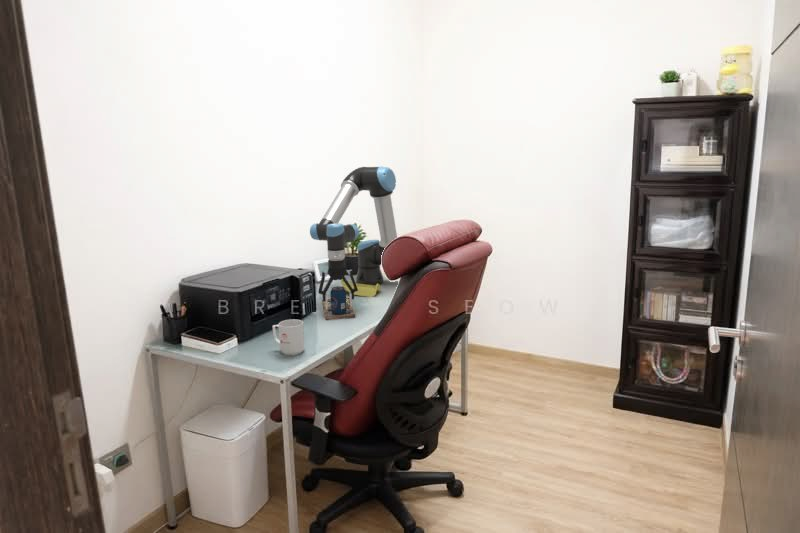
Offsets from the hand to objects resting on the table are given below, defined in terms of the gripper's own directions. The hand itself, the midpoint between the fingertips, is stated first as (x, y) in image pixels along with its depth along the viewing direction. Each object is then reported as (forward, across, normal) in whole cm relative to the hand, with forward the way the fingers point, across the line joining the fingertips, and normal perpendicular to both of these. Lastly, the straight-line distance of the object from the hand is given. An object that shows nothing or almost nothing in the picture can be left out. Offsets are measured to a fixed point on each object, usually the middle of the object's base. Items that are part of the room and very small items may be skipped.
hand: (338, 307), depth 247 cm
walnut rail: (+3, 0, +7) cm, 8 cm away
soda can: (+3, 0, 0) cm, 3 cm away
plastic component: (+3, +14, +32) cm, 35 cm away
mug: (+3, -22, -41) cm, 47 cm away
